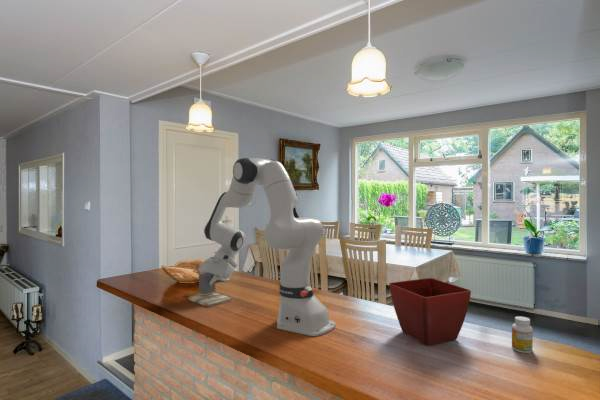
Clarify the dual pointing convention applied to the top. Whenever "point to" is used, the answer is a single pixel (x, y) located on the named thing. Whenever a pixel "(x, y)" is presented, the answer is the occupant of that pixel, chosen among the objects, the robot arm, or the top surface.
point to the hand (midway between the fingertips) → (205, 283)
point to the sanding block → (206, 284)
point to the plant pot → (430, 309)
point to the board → (210, 299)
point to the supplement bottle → (522, 335)
